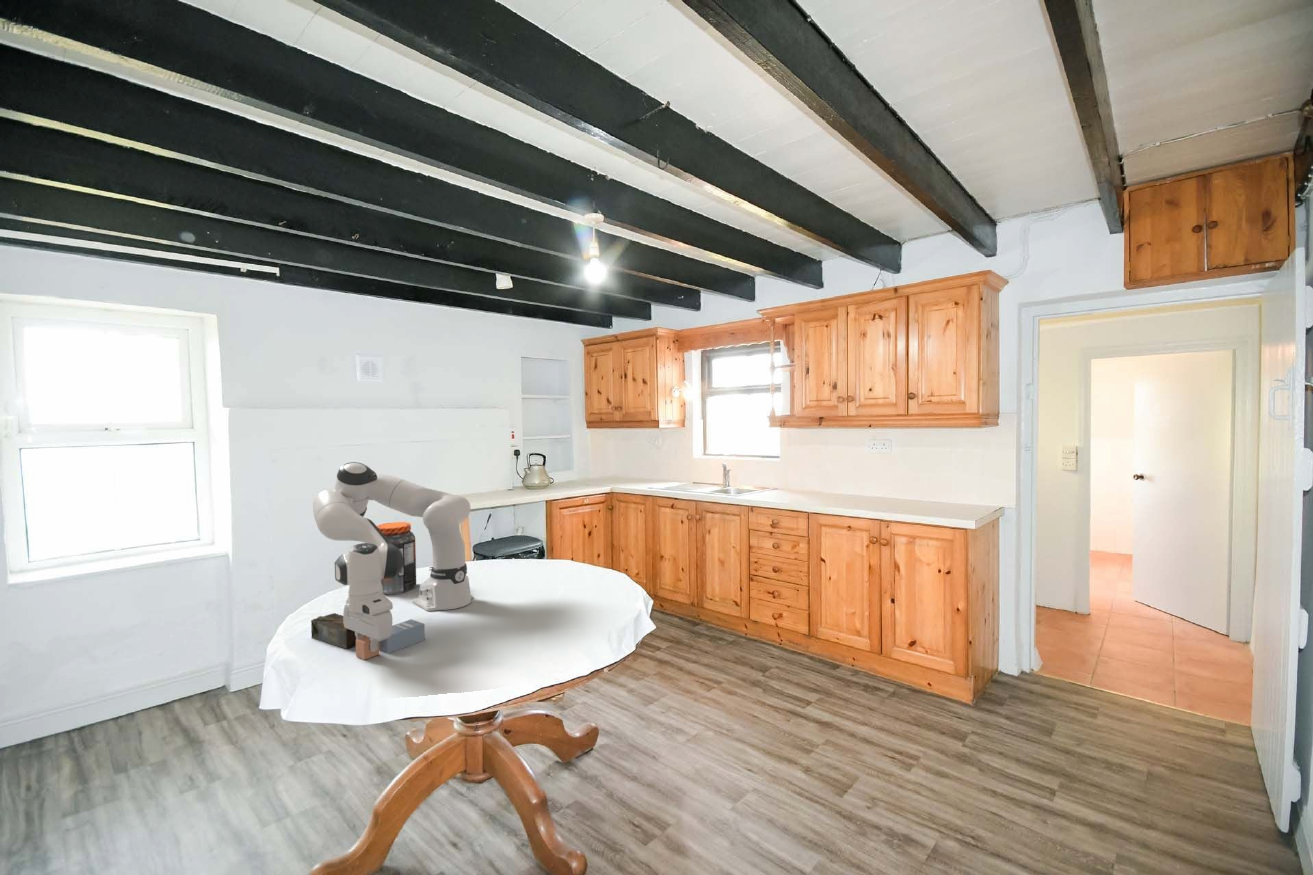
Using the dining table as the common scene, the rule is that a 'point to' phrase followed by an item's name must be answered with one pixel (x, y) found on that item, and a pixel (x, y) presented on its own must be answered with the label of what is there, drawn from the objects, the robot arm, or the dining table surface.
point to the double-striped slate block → (403, 636)
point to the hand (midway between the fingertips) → (367, 648)
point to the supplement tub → (406, 544)
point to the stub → (365, 648)
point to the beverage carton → (333, 631)
